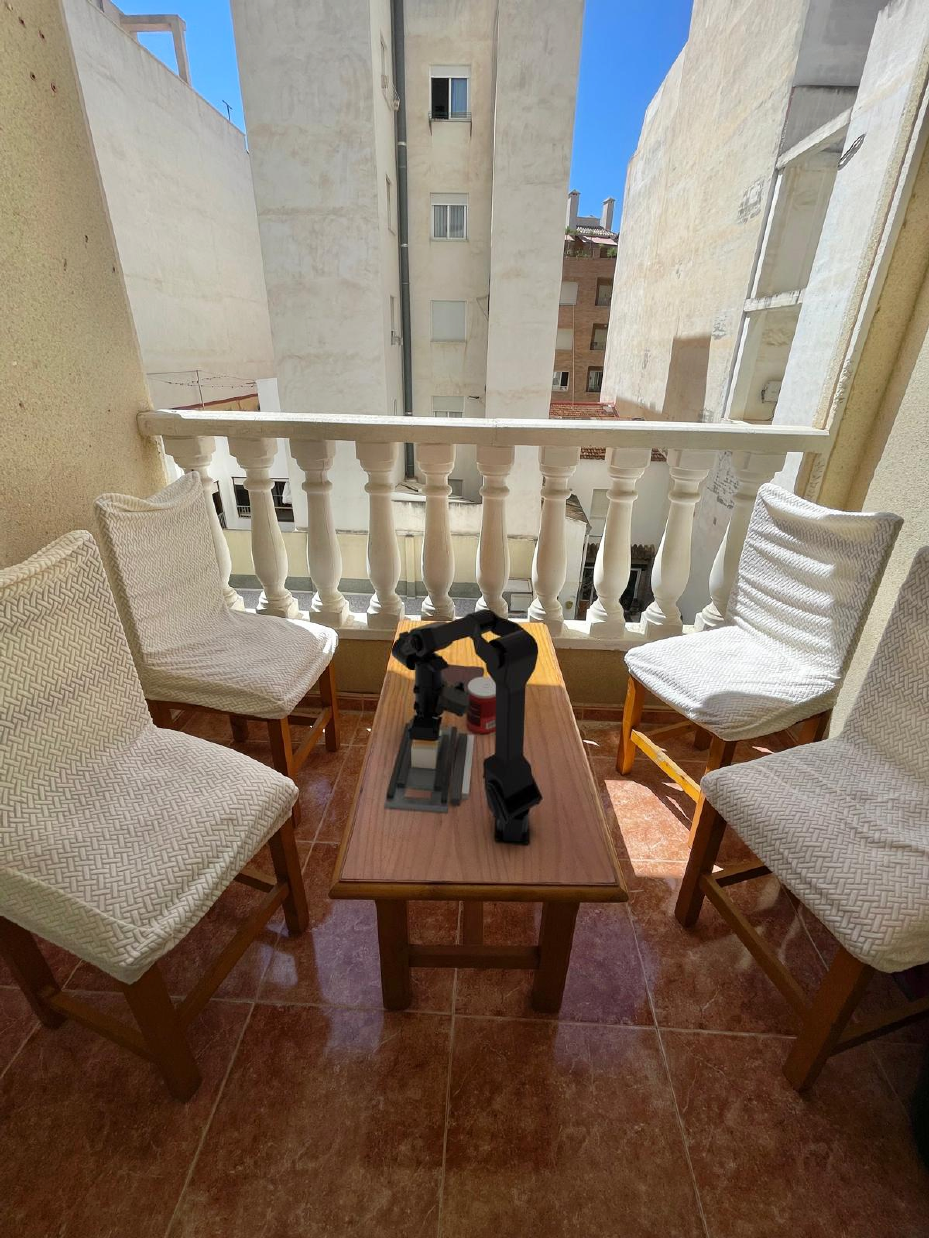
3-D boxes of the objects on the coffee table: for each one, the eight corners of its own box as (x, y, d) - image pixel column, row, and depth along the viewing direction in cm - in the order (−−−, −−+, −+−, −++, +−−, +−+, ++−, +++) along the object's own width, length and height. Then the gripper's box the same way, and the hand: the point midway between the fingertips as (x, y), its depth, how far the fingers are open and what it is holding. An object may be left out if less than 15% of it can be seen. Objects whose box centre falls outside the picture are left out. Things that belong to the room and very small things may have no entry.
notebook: (413, 708, 136) (413, 702, 136) (430, 667, 154) (430, 660, 153) (473, 716, 134) (473, 709, 134) (484, 673, 152) (484, 667, 151)
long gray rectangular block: (467, 806, 108) (468, 799, 107) (450, 805, 108) (450, 798, 107) (473, 740, 126) (474, 733, 125) (459, 739, 126) (459, 732, 125)
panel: (446, 812, 106) (447, 802, 105) (385, 807, 107) (384, 797, 106) (457, 733, 128) (458, 723, 127) (406, 729, 128) (406, 720, 127)
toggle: (435, 768, 115) (435, 748, 112) (411, 766, 115) (411, 747, 113) (437, 755, 118) (437, 736, 116) (414, 754, 119) (414, 734, 116)
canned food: (501, 717, 134) (504, 679, 129) (494, 738, 127) (497, 698, 122) (471, 711, 135) (472, 673, 130) (462, 731, 128) (463, 692, 123)
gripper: (464, 709, 105) (461, 771, 112) (470, 658, 122) (468, 716, 129) (406, 705, 106) (407, 767, 113) (420, 655, 122) (421, 712, 130)
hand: (428, 739), depth 121 cm, fingers closed
